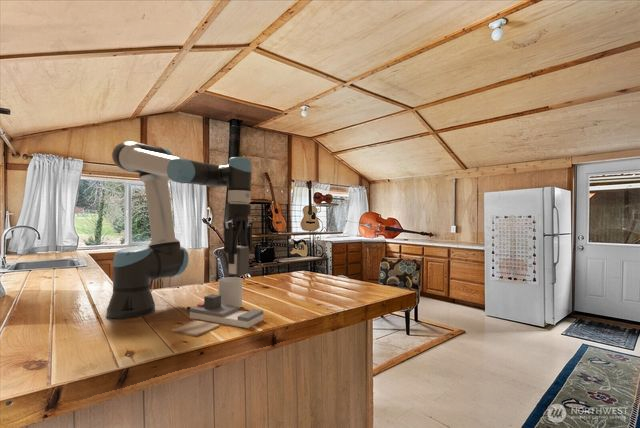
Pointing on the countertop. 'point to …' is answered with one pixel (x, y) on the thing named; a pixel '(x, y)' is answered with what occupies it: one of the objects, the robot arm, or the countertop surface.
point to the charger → (241, 261)
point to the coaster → (195, 328)
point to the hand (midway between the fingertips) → (238, 271)
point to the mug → (230, 291)
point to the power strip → (224, 313)
